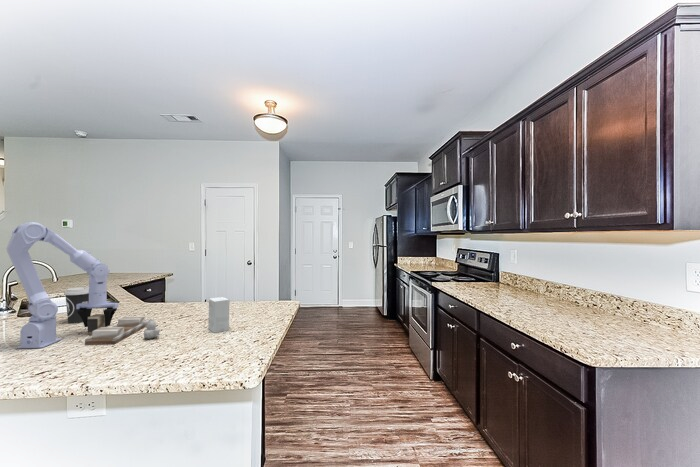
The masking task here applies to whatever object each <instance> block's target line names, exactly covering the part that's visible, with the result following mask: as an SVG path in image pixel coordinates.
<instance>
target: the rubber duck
mask: <svg viewBox="0 0 700 467" xmlns="http://www.w3.org/2000/svg"><path fill="white" fill-rule="evenodd" d="M149 320H150V321H148V323H147V325H146V327H145V328H146V329H144V330H143V337H144V338H145V339H151V340H152V339H154V338H156V337H159V336H160V332H161V329H160V328H157V322H156V321H155V320H154V319H152V318H151V317H150V318H149Z"/></svg>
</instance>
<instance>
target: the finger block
mask: <svg viewBox="0 0 700 467" xmlns="http://www.w3.org/2000/svg"><path fill="white" fill-rule="evenodd" d="M101 327H105V316H104V313H95V314H93V315H92V314H91V316H90V317H88V327H87V335H89V336H90V335H91V336H92V331H94V330H96V329H99V328H101Z"/></svg>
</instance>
